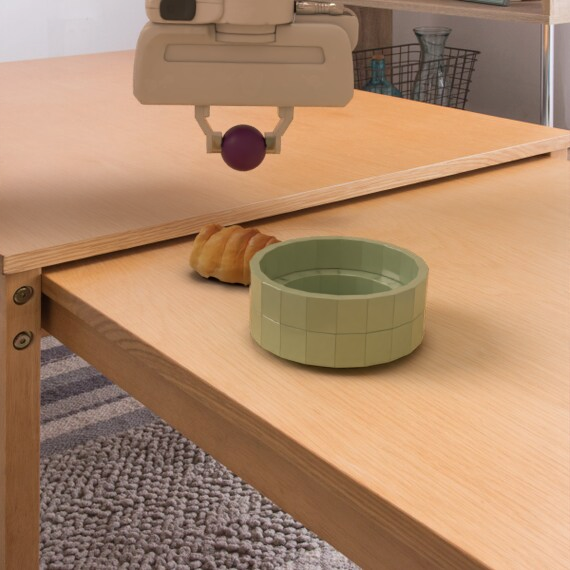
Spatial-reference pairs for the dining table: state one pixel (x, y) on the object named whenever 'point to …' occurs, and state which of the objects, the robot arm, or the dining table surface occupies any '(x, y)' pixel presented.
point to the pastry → (227, 251)
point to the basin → (337, 300)
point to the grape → (243, 147)
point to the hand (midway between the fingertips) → (242, 152)
